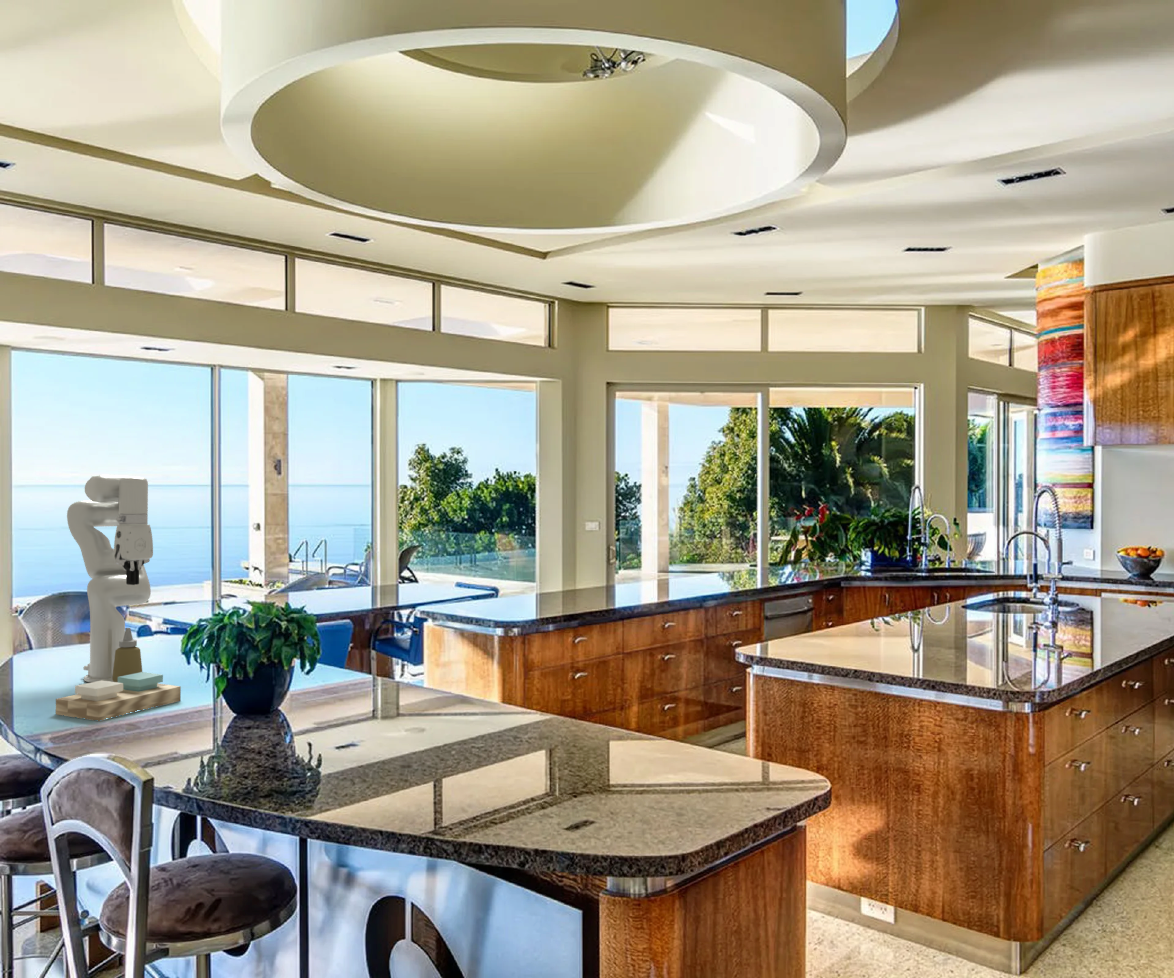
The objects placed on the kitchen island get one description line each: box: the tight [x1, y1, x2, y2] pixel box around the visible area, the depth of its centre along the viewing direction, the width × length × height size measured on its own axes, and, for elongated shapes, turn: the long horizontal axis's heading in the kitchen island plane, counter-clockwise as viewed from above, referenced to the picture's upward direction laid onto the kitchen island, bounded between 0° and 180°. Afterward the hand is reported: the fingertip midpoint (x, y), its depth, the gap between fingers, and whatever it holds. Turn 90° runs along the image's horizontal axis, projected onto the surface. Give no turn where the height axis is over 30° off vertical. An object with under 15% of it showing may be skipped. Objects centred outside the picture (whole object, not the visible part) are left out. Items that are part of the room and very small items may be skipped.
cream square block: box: [74, 680, 123, 701], centre depth 257 cm, size 8×8×5 cm
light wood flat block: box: [55, 683, 182, 722], centre depth 263 cm, size 26×16×4 cm, turn 155°
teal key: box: [118, 671, 164, 692], centre depth 269 cm, size 8×8×5 cm
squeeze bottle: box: [112, 627, 143, 682], centre depth 285 cm, size 8×8×18 cm
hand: (132, 584), depth 281 cm, fingers closed
